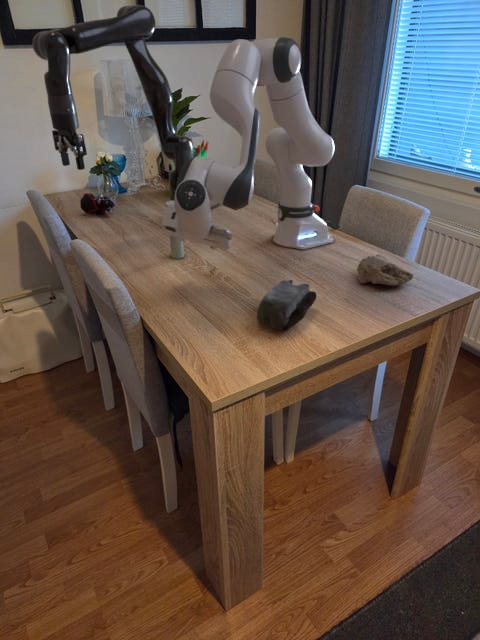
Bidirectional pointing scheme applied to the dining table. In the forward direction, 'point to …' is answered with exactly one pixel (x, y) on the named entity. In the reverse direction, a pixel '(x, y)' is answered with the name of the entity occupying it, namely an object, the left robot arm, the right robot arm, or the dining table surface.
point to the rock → (285, 304)
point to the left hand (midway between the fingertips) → (73, 167)
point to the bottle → (176, 247)
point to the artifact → (381, 271)
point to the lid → (169, 203)
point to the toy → (97, 204)
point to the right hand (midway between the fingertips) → (198, 243)
